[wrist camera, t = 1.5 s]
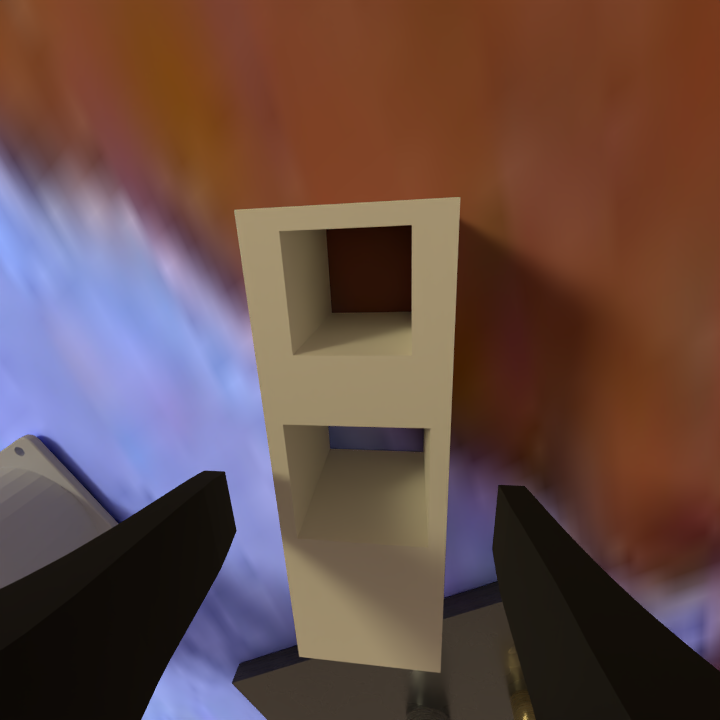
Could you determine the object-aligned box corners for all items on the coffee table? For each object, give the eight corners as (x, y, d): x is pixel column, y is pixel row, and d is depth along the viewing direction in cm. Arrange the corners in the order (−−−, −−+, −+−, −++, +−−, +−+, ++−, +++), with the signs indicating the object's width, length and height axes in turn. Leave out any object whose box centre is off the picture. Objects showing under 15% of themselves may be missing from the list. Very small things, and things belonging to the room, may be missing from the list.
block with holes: (432, 553, 17) (440, 672, 13) (328, 545, 18) (299, 656, 13) (441, 208, 12) (460, 197, 8) (297, 215, 13) (234, 209, 8)
